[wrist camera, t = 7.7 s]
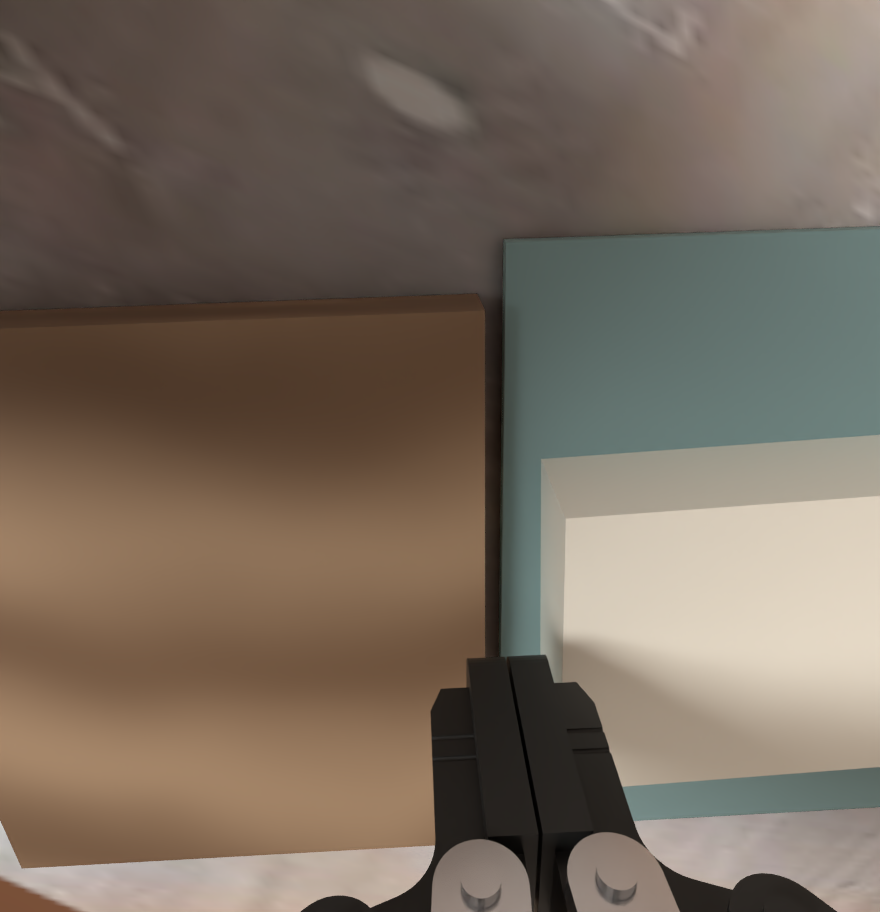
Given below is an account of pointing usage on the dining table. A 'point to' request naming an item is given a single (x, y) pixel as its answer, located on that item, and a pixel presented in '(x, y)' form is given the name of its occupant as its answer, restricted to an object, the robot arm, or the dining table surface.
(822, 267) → the mat
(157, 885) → the dining table surface
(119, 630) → the block
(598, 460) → the tile
